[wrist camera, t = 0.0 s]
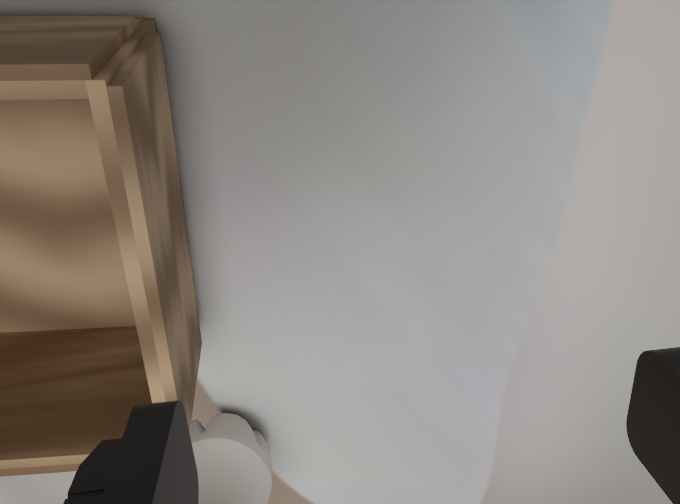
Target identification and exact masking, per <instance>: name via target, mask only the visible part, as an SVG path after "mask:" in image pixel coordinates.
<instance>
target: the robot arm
mask: <svg viewBox="0 0 680 504" xmlns="http://www.w3.org/2000/svg"><path fill="white" fill-rule="evenodd" d="M627 433H628V437H629V441H630V444H631V447H632V449H633V451H634V452H635V454H636V456H637V457H638V459H639V460H640V461H641V463H642V464H643V465H644V466H645V468H646V469H647V470H648V472H649V473H650V474H651V476H652V477H653V478H654V479H655V481H656V482H657V483H658V485H659V486H660V487H661V488H662V490H663V491H664V492H665V494H666V495H667V496H668V498H669V499H670V500H671V501H672V503H673V504H680V347H678V348H669V349H660V350H650V351H645V352H643V353H642V354H641V355H640V356H639V358H638V361H637V366H636V371H635V377H634V382H633V388H632V393H631V399H630V404H629V410H628V415H627ZM198 497H199V487H198V473H197V467H196V462H195V457H194V453H193V448H192V443H191V438H190V433H189V428H188V424H187V419H186V414H185V410H184V406H183V404H182V402H181V401H180V400H178V401H168V402H159V403H150V404H141V405H135V406H134V407H133V409H132V411H131V413H130V416H129V419H128V422H127V425H126V428H125V431H124V434H123V437H122V438H119V439H110V440H102V441H101V442H100V443H99V444H98V445H97V446H96V448H95V449H94V450H93V451H92V452H91V453H90V454H89V455H88V456H87V457H86V459H85V460H84V461H83V462H82V463H81V464H80V465H79V467H78V470H77V472H76V474H75V477H74V479H73V482H72V484H71V487H70V489H69V491H68V499H65V501H64V504H198Z"/></svg>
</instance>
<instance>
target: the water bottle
mask: <svg viewBox="0 0 680 504" xmlns="http://www.w3.org/2000/svg"><path fill="white" fill-rule="evenodd" d="M189 433H190V438H191V443H192V448H193V453H194V457H195V462H196V467H197V473H198V487H199V497H198V504H268V499H269V495H270V492H271V487H272V468H271V459H270V454H269V450H268V446H267V444H266V441H265V439H264V438H263V437H262V436H261V434H260V433H259V432H258V431H253V430H252V428H251V427H250V425H249V424H248V423H247V422H246V420H245V419H243V418H241V417H240V416H238V415H236V414H231V413H221V414H217V415H216V416H215V417H214V418H213V419H212V420H211V421H210V423H209V424H208V426H207V428H206V430H205V429H204V427H203V426H202V425H201V423H199V422H198V421H197V420H195V421H192V422H191V424H190V432H189Z"/></svg>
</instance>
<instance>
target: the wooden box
mask: <svg viewBox="0 0 680 504" xmlns="http://www.w3.org/2000/svg"><path fill="white" fill-rule="evenodd" d="M201 345H202V340H201V333H200V325H199V318H198V311H197V303H196V296H195V288H194V281H193V273H192V266H191V259H190V251H189V244H188V236H187V229H186V222H185V214H184V207H183V199H182V192H181V184H180V177H179V170H178V162H177V155H176V147H175V140H174V132H173V125H172V118H171V110H170V103H169V95H168V88H167V80H166V73H165V66H164V58H163V51H162V43H161V36H160V32H157V30H156V23H155V18H135V16H0V476H13V475H27V474H41V473H54V472H68V471H77V470H78V467H79V465H80V464H81V463H82V462H83V461H84V460H85V459H86V457H87V456H88V455H89V454H90V453H91V452H92V451H93V450H94V449H95V448H96V446H97V445H98V444H99V443H100V442H101V441H102V440H110V439H119V438H122V437H123V434H124V431H125V428H126V425H127V422H128V419H129V416H130V413H131V411H132V409H133V407H134V406H135V405H141V404H150V403H159V402H168V401H178V400H180V401H181V402H182V404H183V406H184V410H185V414H186V419H187V424H188V428H189V432H190V424H191V417H192V410H193V403H194V395H195V388H196V381H197V374H198V367H199V360H200V352H201Z"/></svg>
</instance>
